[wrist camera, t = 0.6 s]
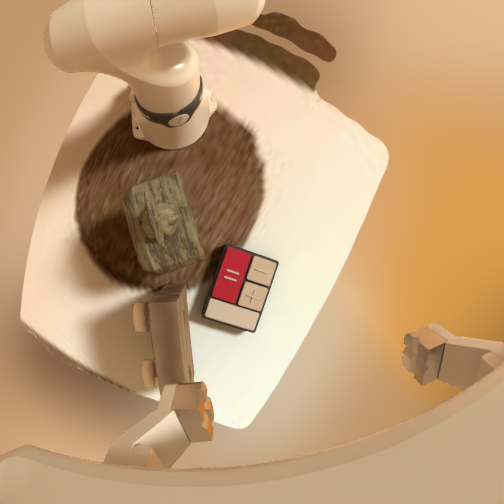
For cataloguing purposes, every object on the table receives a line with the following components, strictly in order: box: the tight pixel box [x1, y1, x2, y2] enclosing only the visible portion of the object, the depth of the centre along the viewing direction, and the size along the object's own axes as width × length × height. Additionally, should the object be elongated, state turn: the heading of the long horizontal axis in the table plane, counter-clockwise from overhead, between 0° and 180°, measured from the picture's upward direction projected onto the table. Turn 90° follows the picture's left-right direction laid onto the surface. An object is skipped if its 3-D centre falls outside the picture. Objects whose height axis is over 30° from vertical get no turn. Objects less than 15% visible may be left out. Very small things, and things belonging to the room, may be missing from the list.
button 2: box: [142, 360, 158, 387], centre depth 46 cm, size 7×5×5 cm
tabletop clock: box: [122, 171, 205, 274], centre depth 42 cm, size 14×9×25 cm, turn 17°
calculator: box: [202, 244, 279, 333], centre depth 55 cm, size 11×4×15 cm
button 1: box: [133, 302, 150, 332], centre depth 45 cm, size 7×5×5 cm
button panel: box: [148, 283, 194, 395], centre depth 46 cm, size 4×20×18 cm, turn 2°
